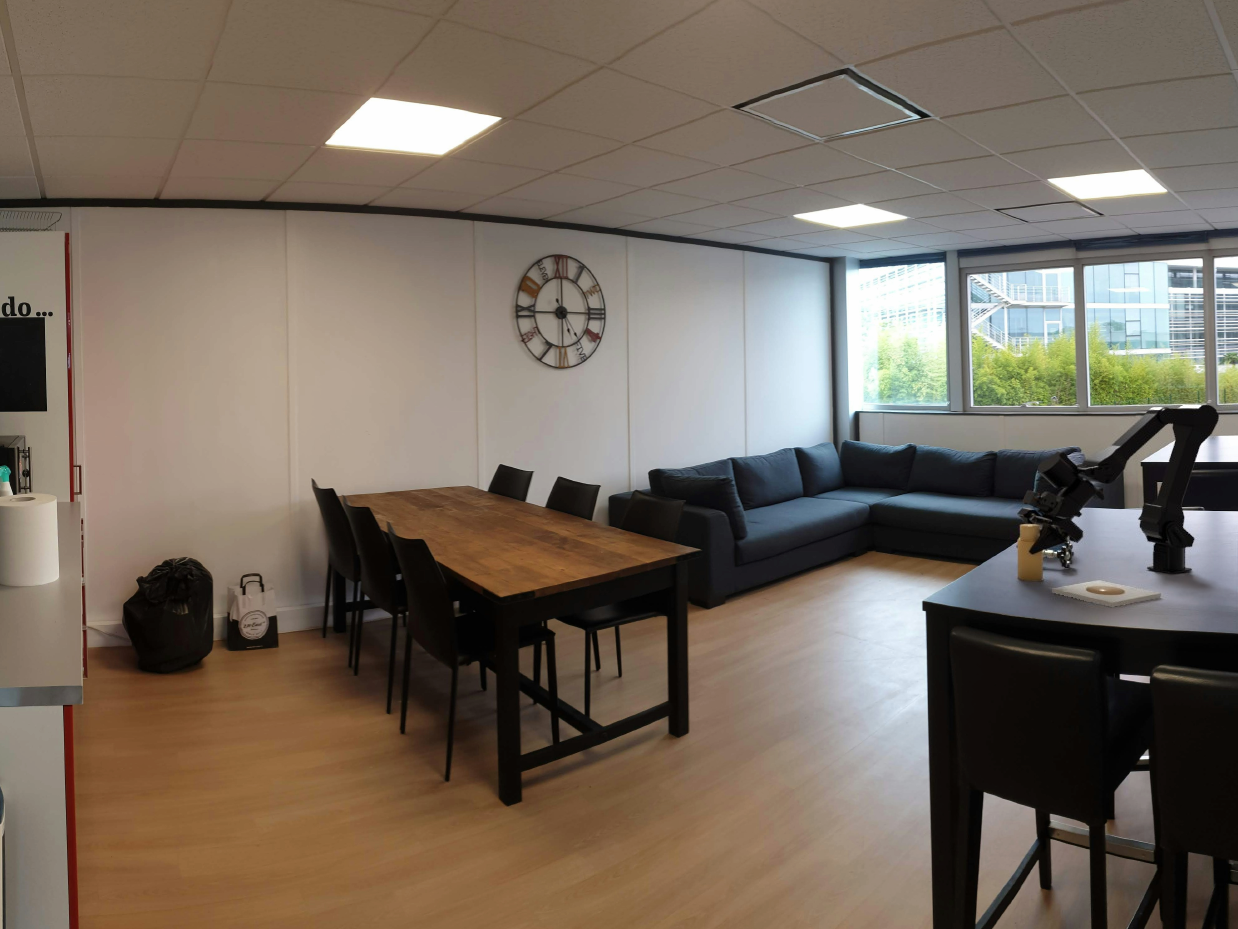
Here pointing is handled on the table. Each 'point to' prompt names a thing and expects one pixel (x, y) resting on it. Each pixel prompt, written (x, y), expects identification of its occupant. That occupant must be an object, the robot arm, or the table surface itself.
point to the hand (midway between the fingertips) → (1024, 550)
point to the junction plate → (1106, 593)
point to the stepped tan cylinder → (1029, 554)
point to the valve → (1061, 555)
